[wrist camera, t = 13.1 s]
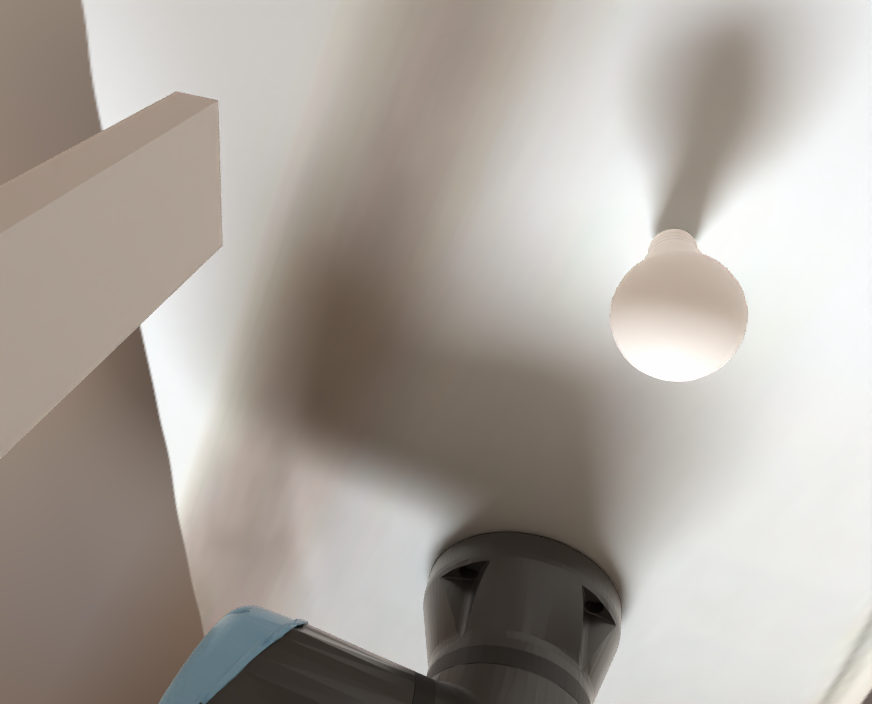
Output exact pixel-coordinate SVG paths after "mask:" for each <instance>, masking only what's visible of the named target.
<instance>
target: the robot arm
mask: <svg viewBox="0 0 872 704" xmlns="http://www.w3.org/2000/svg"><path fill="white" fill-rule="evenodd" d="M221 247H222V213H221V179H220V146H219V112H218V100H214V99H209V98H204V97H199V96H195V95H190V94H185V93H180V92H174V93H172V94H171V95H169V96H167V97H165V98H163V99H161V100H159V101H157V102H156V103H154V104H152V105H150V106H148V107H146V108H144V109H143V110H141V111H139V112H137V113H135V114H133V115H131V116H130V117H128V118H126V119H124V120H122V121H120V122H118V123H116V124H115V125H113V126H111V127H109V128H107V129H105V130H103V131H102V132H100V133H98V134H96V135H94V136H92V137H90V138H89V139H87V140H85V141H83V142H81V143H79V144H77V145H75V146H74V147H72V148H70V149H68V150H66V151H64V152H62V153H61V154H59V155H57V156H55V157H53V158H51V159H49V160H48V161H46V162H44V163H42V164H40V165H38V166H36V167H35V168H33V169H31V170H29V171H27V172H25V173H23V174H21V175H20V176H18V177H16V178H14V179H12V180H10V181H9V182H7V183H5V184H3V185H1V186H0V459H1V458H2V457H3V456H4V455H5V454H6V453H7V452H8V451H9V450H10V449H11V448H12V447H13V446H14V445H16V444H17V443H18V442H19V440H21V439H22V438H23V437H24V436H25V435H26V434H27V433H28V432H29V431H30V430H31V429H32V428H33V427H34V426H35V425H36V424H37V423H38V422H39V421H40V420H42V419H43V418H44V417H45V416H46V415H47V414H48V413H49V412H50V411H51V410H52V409H53V408H54V407H55V406H56V405H57V404H58V403H59V402H60V401H61V400H62V399H63V398H64V397H65V396H67V394H69V392H70V391H72V390H73V389H74V388H75V387H76V386H77V385H78V384H79V383H80V382H81V381H82V380H83V379H84V378H85V377H86V376H87V375H88V374H89V373H90V372H91V371H92V370H94V369H95V368H96V367H97V366H98V365H99V364H100V363H101V362H102V361H103V360H104V359H105V358H106V357H107V356H108V355H109V354H110V353H111V352H112V351H113V350H114V349H115V348H116V347H117V346H118V345H120V343H122V341H124V340H125V339H126V338H127V337H128V336H129V335H130V334H131V333H132V332H133V331H134V330H135V329H136V328H137V327H138V326H139V325H140V324H141V323H142V322H144V321H145V320H146V319H147V318H148V317H149V316H150V315H151V314H152V313H153V312H154V311H155V310H156V309H157V308H158V307H159V306H160V305H161V304H162V303H163V302H164V301H165V300H166V299H167V298H168V297H170V296H171V295H172V294H173V293H174V292H175V291H176V290H177V289H178V288H179V287H180V286H181V285H182V284H183V283H184V282H185V281H186V280H187V279H188V278H189V277H190V276H191V275H192V274H193V273H195V272H196V271H197V270H198V269H199V268H200V267H201V266H202V265H203V264H204V263H205V262H206V261H207V260H208V259H209V258H210V257H211V256H212V255H213V254H214V253H215V252H216V251H217V250H218V249H219V248H221ZM423 610H424V622H425V633H426V645H427V656H428V673H427V677H426V676H424V675H422V674H419V673H417V672H415V671H413V670H410V669H408V668H406V667H403V666H401V665H399V664H396V663H394V662H392V661H389V660H387V659H385V658H383V657H380V656H378V655H376V654H373V653H371V652H369V651H367V650H364V649H362V648H360V647H358V646H355V645H353V644H351V643H349V642H346V641H344V640H342V639H340V638H337V637H335V636H333V635H331V634H328V633H326V632H324V631H322V630H319V629H317V628H315V627H312V626H310V625H309V624H308V622H307V621H305V620H302V619H296V620H293V619H290V618H288V617H285V616H282V615H280V614H277V613H274V612H272V611H269V610H266V609H264V608H261V607H257V606H243V607H239V608H237V609H235V610H233V611H231V612H229V613H228V614H227V615H225V616H224V617H223V618H222V619H221V620H220V621H219V622H218V623H216V625H215V626H214V627H213V628H212V629H211V630H210V631H209V632H208V633H207V635H206V636H205V637H204V638H203V640H202V641H201V642H200V643H199V645H198V646H197V647H196V649H195V650H194V651H193V653H192V654H191V655H190V657H189V658H188V660H187V661H186V663H185V664H184V665H183V667H182V668H181V669H180V671H179V672H178V674H177V675H176V677H175V678H174V680H173V681H172V683H171V685H170V686H169V688H168V689H167V691H166V692H165V694H164V695H163V697H162V698H161V700H160V702H159V704H593V702H594V700H595V698H596V696H597V693H598V691H599V689H600V687H601V685H602V682H603V680H604V678H605V676H606V673H607V671H608V669H609V667H610V664H611V662H612V660H613V658H614V656H615V653H616V651H617V648H618V645H619V640H620V634H621V603H620V599H619V596H618V593H617V591H616V589H615V587H614V585H613V583H612V582H611V580H610V579H609V578H608V576H607V575H606V574H605V573H604V572H603V571H602V570H601V569H600V568H599V567H598V566H597V565H596V564H595V563H594V562H592V561H591V560H590V559H588V558H587V557H586V556H584V555H583V554H581V553H579V552H578V551H576V550H574V549H572V548H570V547H568V546H566V545H564V544H561V543H559V542H556V541H553V540H550V539H547V538H543V537H539V536H535V535H529V534H522V533H508V532H503V533H489V534H483V535H478V536H474V537H471V538H468V539H465V540H463V541H461V542H458V543H457V544H455V545H453V546H452V547H450V548H449V549H447V550H446V551H445V552H444V553H443V554H442V555H441V556H440V557H439V558H438V559H437V561H436V562H435V564H434V566H433V568H432V570H431V573H430V577H429V580H428V584H427V587H426V591H425V595H424V603H423Z"/></svg>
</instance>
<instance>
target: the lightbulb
mask: <svg viewBox="0 0 872 704" xmlns="http://www.w3.org/2000/svg"><path fill="white" fill-rule="evenodd" d="M747 322H748V308H747V304H746V299H745V295H744V292H743V290H742V288H741V286H740V284H739V282H738V281H737V279H736V278H735V277H734V276H733V275H732V273H731V272H730V271H729V270H728V269H727V268H726V267H725V266H724V265H722V264H721V263H720V262H718V261H717V260H715V259H713V258H711V257H709V256H707V255H704V254H702V253H701V251H700V250H699V249H698V247H697V245H696V242H695V240H694V238H693V237H692V236H691V235H690V234H689V233H688V232H686V231H684V230H680V229H668V230H664V231H662V232H660V233H659V234H657V235H656V236H655V237H654V238H653V240H652V241H651V243H650V246H649V250H648V254H647V256H646V257H645V259H644V260H643V261H641V262H640V263H638V264H637V265H635V266H634V267H633V268H632V269H631V270H630V271H629V272H628V273H627V274H626V275H625V276H624V278H623V279H622V281H621V282H620V284H619V285H618V287H617V289H616V291H615V293H614V296H613V298H612V302H611V309H610V326H611V331H612V334H613V337H614V340H615V343H616V345H617V347H618V348H619V350H620V351H621V353H622V354H623V356H624V357H625V358H626V359H627V360H628V361H629V362H630V364H631V365H632V366H634V367H635V368H637V369H638V370H639V371H641V372H643V373H645V374H647V375H649V376H651V377H654V378H658V379H661V380H665V381H673V382H680V381H690V380H695V379H699V378H701V377H704V376H707V375H709V374H711V373H713V372H714V371H716V370H718V369H720V368H721V367H722V366H723V365H725V364H726V363H727V362H728V361H729V360H730V359H731V358H732V356H733V355H734V354H735V353H736V351H737V349H738V348H739V346H740V344H741V342H742V340H743V338H744V334H745V331H746V327H747Z"/></svg>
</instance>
